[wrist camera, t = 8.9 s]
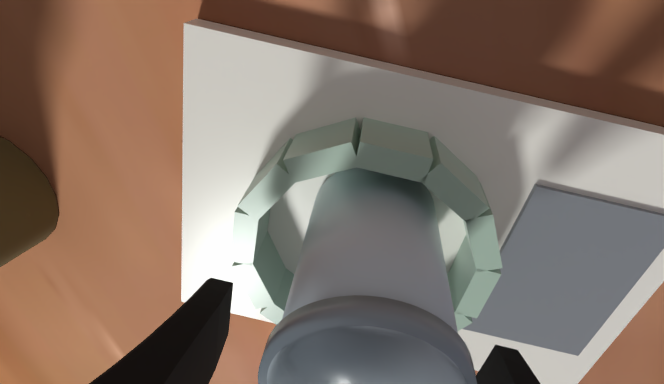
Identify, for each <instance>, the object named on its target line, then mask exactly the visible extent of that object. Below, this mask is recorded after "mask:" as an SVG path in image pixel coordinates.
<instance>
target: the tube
mask: <svg viewBox="0 0 664 384" xmlns="http://www.w3.org/2000/svg"><path fill="white" fill-rule="evenodd" d="M258 384H477V380H476V375H475V370H474V365H473V361H472V357H471V354H470V351H469V349H468V347H467V345H466V344H465V342H464V341H463V339H462V338H461V337H460V335H459V334H458V331H457V325H456V320H455V314H454V309H453V303H452V298H451V293H450V287H449V282H448V276H447V271H446V265H445V260H444V254H443V249H442V244H441V238H440V233H439V227H438V222H437V216H436V211H435V206H434V202H433V198H432V196H431V194H430V192H429V190H428V189H427V187H426V186H425V185H424V184H423V183H421V182H417V181H413V180H409V179H404V178H400V177H396V176H391V175H387V174H383V173H379V172H374V171H370V170H366V169H361V168H357V167H356V168H352V169H348V170H344V171H340V172H336V173H334V174H333V175H332V176H330V177H329V178H328V179H327V180H326V181H325V182H324V184H323V185H322V186H321V188H320V190H319V191H318V193H317V196H316V199H315V202H314V205H313V209H312V213H311V216H310V220H309V224H308V227H307V231H306V234H305V238H304V242H303V245H302V249H301V252H300V256H299V260H298V263H297V267H296V270H295V274H294V278H293V281H292V285H291V289H290V292H289V296H288V299H287V303H286V307H285V310H284V314H283V317H282V320H281V321H280V322H279V323H278V324H277V325H276V326H275V328H274V329H273V331H272V332H271V334H270V335H269V338H268V340H267V343H266V346H265V349H264V353H263V356H262V359H261V363H260V366H259V372H258Z"/></svg>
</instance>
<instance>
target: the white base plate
mask: <svg viewBox="0 0 664 384" xmlns="http://www.w3.org/2000/svg"><path fill="white" fill-rule="evenodd" d="M356 167H357V168H361V169H366V170H370V171H374V172H379V173H383V174H387V175H391V176H396V177H400V178H404V179H409V180H413V181H417V182H421V183H423V184H424V185H425V186H426V187H427V189H428V190H429V192H430V194H431V196H432V198H433V202H434V206H435V211H436V216H437V222H438V227H439V233H440V238H441V244H442V249H443V254H444V260H445V265H446V271H447V276H448V282H449V287H450V293H451V298H452V303H453V309H454V314H455V320H456V325H457V331H458V334H459V335H460V337H461V338H462V339H463V341H464V342H465V344H466V345H467V347H468V349H469V351H470V354H471V357H472V361H473V365H474V370H477V371H479V370H480V369H481V367H482V365H483V364H484V362H485V361H486V359H487V357H488V356H489V354H490V352H491V351H492V349H493V348H494V346H495V345H500V346H504V347H508V348H512V349H516V350H518V351H519V352H520V354H521V355H522V357H523V358H524V360H525V361H526V363H527V364H528V366H529V367H530V369H531V370H532V372H533V373H534V375H535V376H536V378H537V379H538V381H539V382H540V384H578V383H579V381H580V380H581V379H582V378H583V377H584V375H585V374H586V373H587V372H588V371H589V369H590V368H591V367H592V366H593V365H594V363H595V362H596V361H597V360H598V359H599V358H600V356H601V355H602V354H603V353H604V352H605V350H606V349H607V348H608V347H609V346H610V344H611V343H612V342H613V341H614V340H615V339H616V337H617V336H618V335H619V334H620V333H621V331H622V330H623V329H624V328H625V327H626V325H627V324H628V323H629V322H630V321H631V319H632V318H633V317H634V316H635V315H636V314H637V312H638V311H639V310H640V309H641V308H642V306H643V305H644V304H645V303H646V302H647V300H648V299H649V298H650V297H651V296H652V294H653V293H654V292H655V291H656V290H657V289H658V287H659V286H660V285H661V284H662V283H663V281H664V127H661V126H657V125H653V124H648V123H644V122H640V121H636V120H631V119H627V118H623V117H618V116H614V115H610V114H606V113H601V112H597V111H593V110H588V109H584V108H580V107H575V106H571V105H567V104H563V103H558V102H554V101H550V100H545V99H541V98H537V97H532V96H528V95H524V94H520V93H515V92H511V91H507V90H502V89H498V88H494V87H489V86H485V85H481V84H477V83H472V82H468V81H464V80H459V79H455V78H451V77H446V76H442V75H438V74H434V73H429V72H425V71H421V70H416V69H412V68H408V67H404V66H399V65H395V64H391V63H386V62H382V61H378V60H373V59H369V58H365V57H361V56H356V55H352V54H348V53H343V52H339V51H335V50H330V49H326V48H322V47H318V46H313V45H309V44H305V43H300V42H296V41H292V40H287V39H283V38H279V37H275V36H270V35H266V34H262V33H257V32H253V31H249V30H245V29H240V28H236V27H232V26H227V25H223V24H219V23H214V22H210V21H206V20H202V19H194V20H191V21H188V22H185V23H184V58H183V174H182V290H181V301H182V302H186V301H187V300H188V299H189V298H190V297H191V296H192V295H193V294H194V293H195V292H196V291H197V290H198V289H199V288H200V287H201V286H202V285H203V284H204V282H205V281H206V280H208V279H210V278H215V279H219V280H223V281H228V282H232V283H233V291H232V301H231V311H230V313H233V314H237V315H242V316H246V317H250V318H254V319H259V320H263V321H267V322H272V323H275V324H276V325H277V324H278V323H279V322H280V321H281V320H282V317H283V314H284V310H285V307H286V303H287V299H288V296H289V292H290V289H291V285H292V281H293V278H294V274H295V270H296V267H297V263H298V260H299V256H300V252H301V249H302V245H303V242H304V238H305V234H306V231H307V227H308V224H309V220H310V216H311V213H312V209H313V205H314V202H315V199H316V196H317V193H318V191H319V190H320V188H321V186H322V185H323V184H324V182H325V181H326V180H327V179H328V178H329V177H330V176H332V175H333V174H334V173H336V172H340V171H344V170H348V169H352V168H356Z"/></svg>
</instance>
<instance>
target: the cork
mask: <svg viewBox="0 0 664 384" xmlns="http://www.w3.org/2000/svg"><path fill="white" fill-rule="evenodd" d="M58 216H59V211H58V205H57V199H56V195H55V193H54V191H53V189H52V187H51V185H50V183H49V181H48V179H47V177H46V176H45V175H44V174H43V173H42V171H41V170H40V169H39V168H38V167H37V165H36V164H35V163H34V162H33V161H32V159H31V158H30V157H29V156H27V155H26V154H25V153H23V152H22V151H21V150H20V149H18V148H17V147H16V146H15V145H13V144H12V143H11V142H10V141H8V140H6V139H4V138H2V137H0V267H1V266H3V265H4V264H6V263H8V262H9V261H11V260H12V259H14V258H16V257H17V256H19V255H21V254H22V253H24V252H25V251H27V250H29V249H30V248H32V247H33V246H35V245H37V244H38V243H40V242H42V241H43V240H45V239H46V238H47V237H48V236H49V235H50V234H51V233H52V232H53V231H54V230H55V228H56V224H57V220H58Z"/></svg>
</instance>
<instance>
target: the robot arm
mask: <svg viewBox="0 0 664 384" xmlns="http://www.w3.org/2000/svg"><path fill="white" fill-rule="evenodd" d="M232 291H233V283H232V282H228V281H223V280H219V279H215V278H210V279H208V280H206V281H205V282H204V284H203V285H202V286H201V287H200V288H199V289H198V290H197V291H196V292H195V293H194V294H193V295H192V296H191V297H190V298H189V299H188V300H187V301H186V302H185V303H184V304H183V305H182V306H181V307H180V308H179V309H178V310H177V311H176V312H175V313H174V314H173V315H172V316H171V317H169V318H168V319H167V320H166V321H165V322H164V323H163V324H162V325H161V326H160V327H158V328H157V329H156V330H155V331H154V332H153V333H152V334H151V335H150V336H148V337H147V338H146V339H145V340H144V341H143V342H141V343H140V344H139V345H138V346H137V347H135V348H134V349H133V350H132V351H130V352H129V353H128V354H127V355H126V356H124V357H123V358H122V359H121V360H119V361H118V362H117V363H116V364H114V365H113V366H112V367H111V368H109V369H108V370H107V371H105V372H104V373H103V374H102V375H100V376H99V377H97V378H96V379H95V380H93V381H92V382H91V383H89V384H209V381H210V379H211V377H212V375H213V373H214V371H215V369H216V366H217V363H218V361H219V358H220V355H221V352H222V350H223V347H224V344H225V341H226V338H227V336H228V331H229V321H230V311H231V301H232ZM476 380H477V384H540V382H539V381H538V379H537V378H536V376H535V375H534V373H533V372H532V370H531V369H530V367H529V366H528V364H527V363H526V361H525V360H524V358H523V357H522V355H521V354H520V352H519V351H518V350H516V349H512V348H508V347H504V346H500V345H495V346H494V348H493V349H492V351H491V352H490V354H489V356H488V357H487V359H486V361H485V362H484V364H483V365H482V367H481V369H480V370H479V372H478V373H477V375H476Z"/></svg>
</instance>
